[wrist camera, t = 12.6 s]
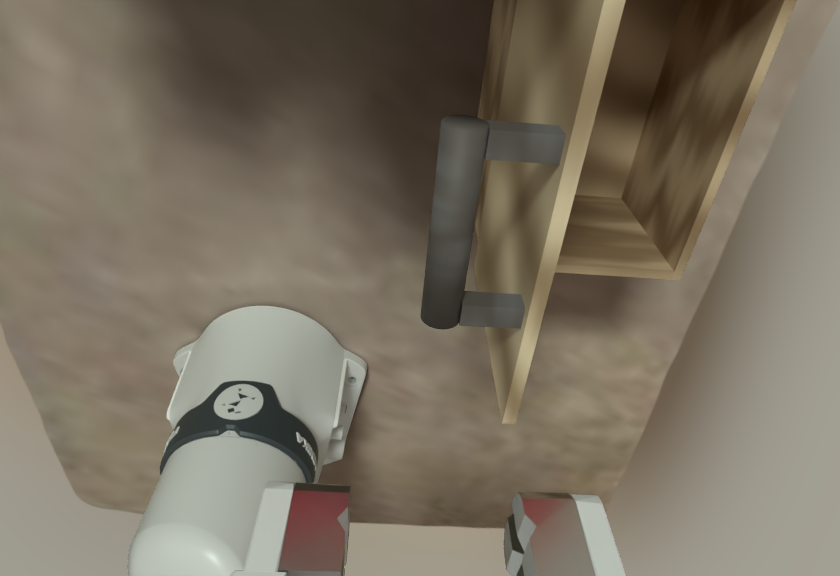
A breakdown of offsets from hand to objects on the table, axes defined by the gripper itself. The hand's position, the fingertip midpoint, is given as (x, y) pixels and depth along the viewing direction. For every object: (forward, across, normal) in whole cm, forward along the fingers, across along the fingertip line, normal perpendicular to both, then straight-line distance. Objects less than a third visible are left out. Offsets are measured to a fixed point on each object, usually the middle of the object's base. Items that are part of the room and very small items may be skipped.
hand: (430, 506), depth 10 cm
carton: (+36, +12, 0) cm, 38 cm away
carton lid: (+17, +5, 0) cm, 18 cm away
